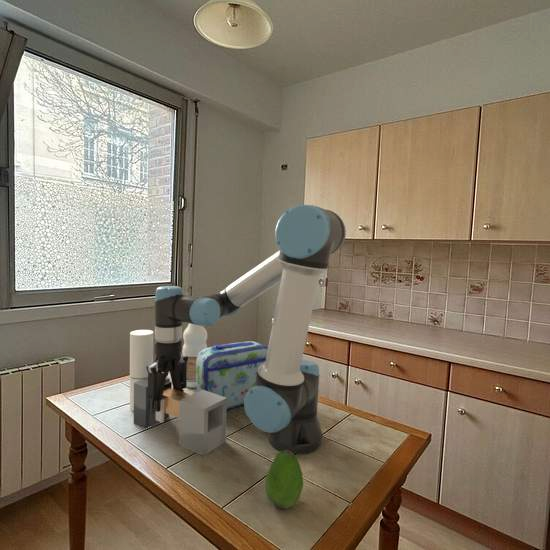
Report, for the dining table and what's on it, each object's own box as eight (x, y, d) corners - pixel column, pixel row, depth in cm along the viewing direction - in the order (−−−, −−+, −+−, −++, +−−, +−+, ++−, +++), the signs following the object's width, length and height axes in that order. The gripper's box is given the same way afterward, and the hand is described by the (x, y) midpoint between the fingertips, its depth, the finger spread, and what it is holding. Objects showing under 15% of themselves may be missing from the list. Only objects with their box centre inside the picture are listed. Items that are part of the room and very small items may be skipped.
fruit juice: (179, 380, 146) (180, 310, 144) (203, 377, 150) (204, 309, 148) (184, 389, 138) (185, 315, 135) (209, 386, 141) (211, 314, 139)
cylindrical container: (156, 403, 126) (157, 330, 123) (147, 412, 118) (147, 335, 116) (136, 401, 126) (136, 329, 124) (125, 410, 119) (125, 334, 117)
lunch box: (204, 418, 116) (205, 352, 115) (192, 405, 125) (193, 344, 123) (274, 401, 131) (276, 343, 129) (258, 390, 140) (260, 335, 138)
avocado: (294, 522, 74) (297, 465, 73) (259, 510, 77) (261, 455, 76) (306, 497, 82) (308, 445, 81) (273, 487, 85) (275, 437, 84)
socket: (169, 417, 116) (169, 378, 115) (145, 429, 108) (145, 387, 107) (157, 412, 119) (157, 374, 118) (133, 423, 111) (133, 382, 110)
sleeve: (225, 441, 103) (226, 397, 102) (203, 456, 96) (204, 409, 95) (202, 431, 108) (202, 389, 107) (178, 444, 101) (179, 399, 100)
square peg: (208, 419, 105) (209, 395, 105) (190, 430, 99) (190, 404, 99) (159, 400, 117) (159, 378, 116) (139, 408, 111) (139, 384, 110)
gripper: (182, 331, 117) (181, 403, 119) (133, 343, 102) (132, 425, 104) (200, 335, 113) (198, 409, 115) (151, 349, 98) (150, 433, 100)
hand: (167, 416), depth 109 cm, fingers closed on square peg, 5 cm apart
